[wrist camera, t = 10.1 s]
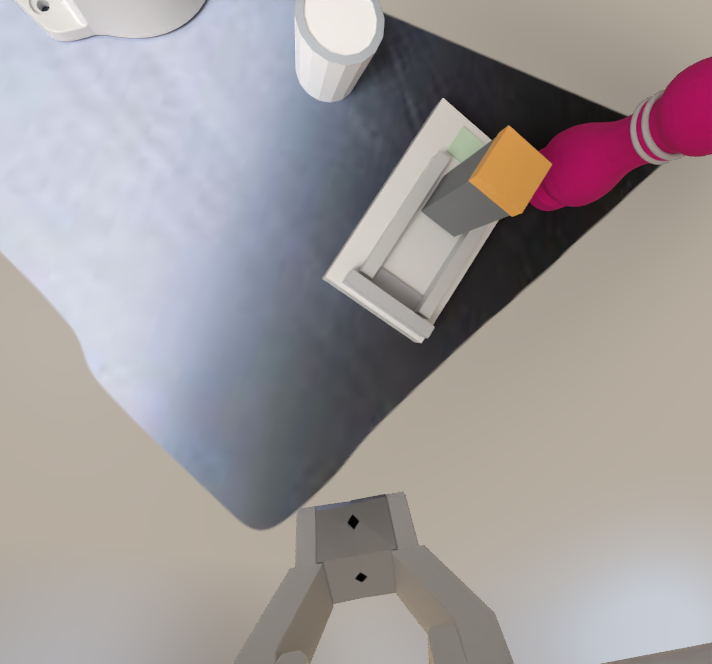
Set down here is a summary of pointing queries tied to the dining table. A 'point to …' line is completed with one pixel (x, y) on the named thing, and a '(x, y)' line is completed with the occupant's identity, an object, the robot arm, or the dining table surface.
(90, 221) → the dining table surface
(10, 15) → the dining table surface
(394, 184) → the white slider switch base
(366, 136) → the dining table surface
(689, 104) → the pepper mill
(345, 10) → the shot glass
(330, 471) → the dining table surface
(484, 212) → the plate
